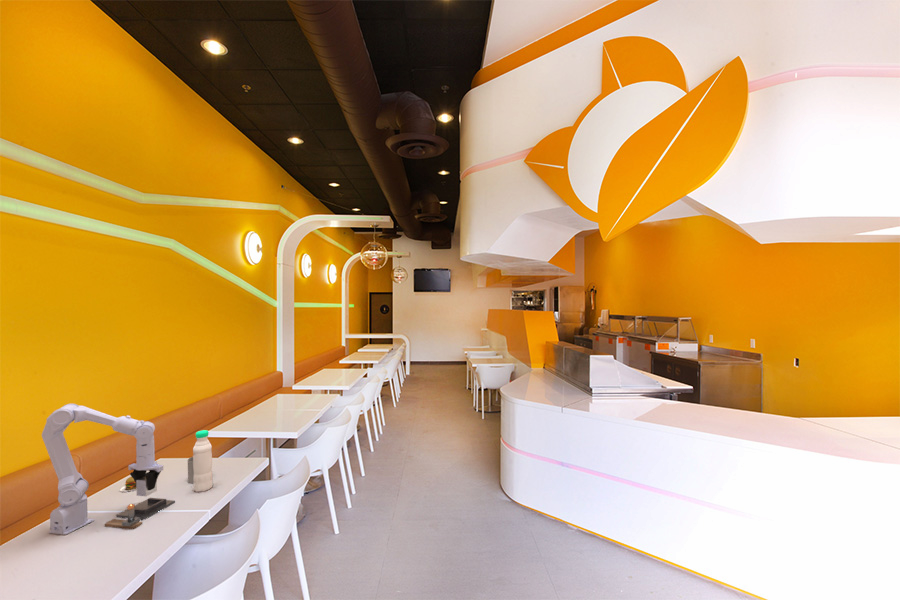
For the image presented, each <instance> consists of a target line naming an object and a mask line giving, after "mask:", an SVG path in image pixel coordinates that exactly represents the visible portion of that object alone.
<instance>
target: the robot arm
mask: <svg viewBox="0 0 900 600" xmlns="http://www.w3.org/2000/svg"><path fill="white" fill-rule="evenodd" d="M85 421H89V422H93V423H97V424H101V425H106V426H109V427H111V428H112V430H113V431H114V432H118V433H121V434H126V435H128V436H131V437H132V436H134V438H135V439H136V445H135V447H136V448H135V450H136V453H135V454H136V455H135V456H136V458H135V461H136V463H135V462H134V463H131V464H128V466H127V467H128V471H132V472H130V473H129V476H130V477H132V478H133V479H134V481H135V483H136V480H138V479H140V478H142V477H146V480H147V485H148V490H152V489H154V488H155V484H156V481H157V480H158V477H159V476H160V474H161V472H162V471H164V465H163V464H159V463H158V461H155V460H156V457H155V455H156V454H155V451H156V450H155V434H154V432H155V430H156V426H155V423H153V422H151V421H148V420H147V421H145V420H144V419H143V420H142V419H141V420H138V419H134V418H132V417H131V415H129V414H128V415H126V416H125V415H122V416H119V417H116V416H113V415H110V414H107V413H104V412H101V411H99V410H95V409H93V408H90V407H87V406H85V405H78V404H76V403H68V404H64V405H63V406H62V407H60V408H58V409H55V410H53V412H52V413H51V414H50V415H49V416H48V417H47V418H46V422H45V425H44V428H43V430H42V431H41V432H42V433H41V438H42V441H43V442H44V445H45V448H46V451H47V454H48V456H49V459H50V461H51V464H52V467H53V469H54V472H55V474H56V476H57V480H58V484H57V490H58V496H57V500H58V503H59V506H58V507H56V508H55V509H53V510H52V511H51V512H50V515H49V525H50V527H49V528H50V529H49V531H48V534H54V535H55V534H56V535H68V534H71V533H72V532H74V531H76V530H78V529H80V528H81V527H84V526H86V525H88V524H90V523H92V522H94V521H95V519H94V518H88V495H87V494H86V492H87V491H88V489H89V487H90V486H89V482H88V481H87V480H86V479H85V478H83V475H82V473H80V472H78V469H77V467H76V464H75V463H74V462H75V461H74V459H73V457H72V454H71V450H70V448H69V445H68V443H67V441H66V440H67V439H66V438H65V436H64V432H65V430H67V428H68V427H69V425H70V424H72V423H73V422H74V424H76V423H80V422H85ZM147 471H148V472H147ZM157 482H158V481H157Z"/></svg>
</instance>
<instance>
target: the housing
mask: <svg viewBox="0 0 900 600" xmlns="http://www.w3.org/2000/svg"><path fill="white" fill-rule="evenodd" d="M157 482H158V481H156V484H155V488H154V489H152V490H148V485H147V480H146V477H142V478H140V479H138V480H136V488H135V489H137V490H136V496H138V497H148V496H150V495H152V494H154V493H156V492H157V491H158V485H157V484H158V483H157Z"/></svg>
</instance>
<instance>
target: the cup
mask: <svg viewBox="0 0 900 600" xmlns="http://www.w3.org/2000/svg"><path fill="white" fill-rule="evenodd" d="M193 477H194V470H193V456H191V457H189V458H188V459H187V483H188V484H190V485H191V484H192V485H194V479H193Z"/></svg>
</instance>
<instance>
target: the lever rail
mask: <svg viewBox="0 0 900 600" xmlns="http://www.w3.org/2000/svg"><path fill="white" fill-rule="evenodd" d="M125 520H126V519H118V518H117V519H116V518H112V519H111V520H109V521H107V522H105V523H104V527H108V528H116V529H126V530H135V529H137V528H139V527H141V526H142V525H143V521H141V520H140V521H139V522H137V523H135V524H134V525H132V526H122V522H123V521H125ZM141 524H142V525H141ZM140 525H141V526H140Z"/></svg>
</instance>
